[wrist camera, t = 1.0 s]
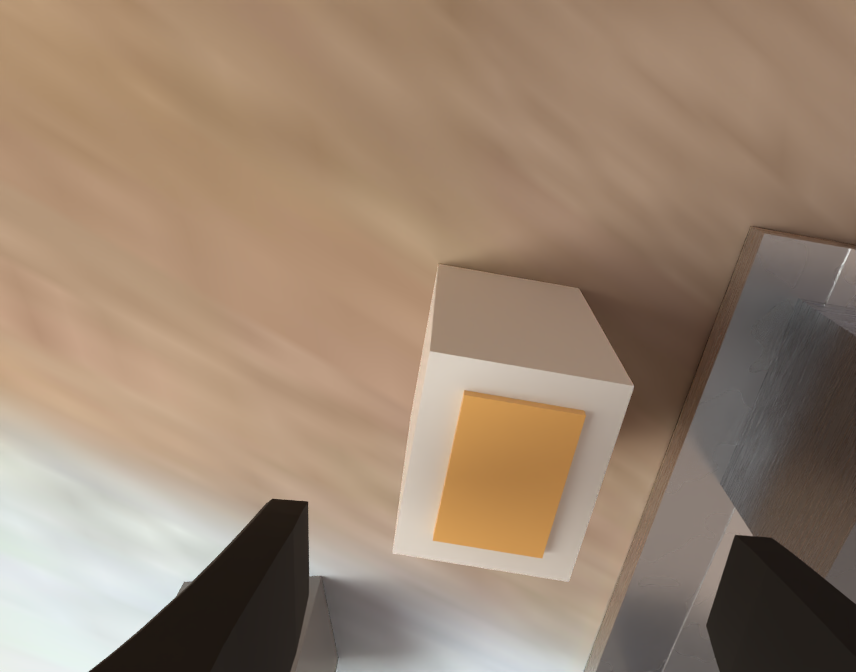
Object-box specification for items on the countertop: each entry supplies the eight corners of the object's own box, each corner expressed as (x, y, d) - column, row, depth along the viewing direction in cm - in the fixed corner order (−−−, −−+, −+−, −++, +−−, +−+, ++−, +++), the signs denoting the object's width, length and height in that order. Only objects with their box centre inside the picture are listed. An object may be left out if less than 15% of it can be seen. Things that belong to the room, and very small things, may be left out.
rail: (1039, 277, 17) (1323, 377, 11) (727, 819, 26) (799, 1018, 21) (750, 226, 17) (896, 302, 11) (539, 790, 26) (561, 984, 20)
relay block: (321, 573, 22) (293, 679, 18) (338, 656, 24) (315, 770, 20) (185, 579, 23) (128, 684, 19) (210, 660, 24) (163, 772, 20)
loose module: (578, 287, 18) (637, 391, 12) (537, 438, 20) (570, 588, 14) (438, 263, 18) (429, 355, 12) (410, 416, 19) (391, 559, 14)
